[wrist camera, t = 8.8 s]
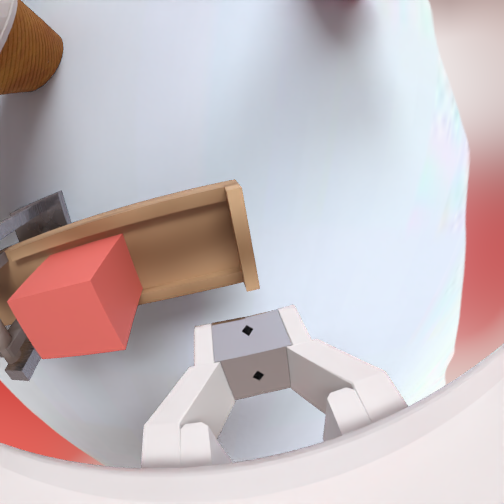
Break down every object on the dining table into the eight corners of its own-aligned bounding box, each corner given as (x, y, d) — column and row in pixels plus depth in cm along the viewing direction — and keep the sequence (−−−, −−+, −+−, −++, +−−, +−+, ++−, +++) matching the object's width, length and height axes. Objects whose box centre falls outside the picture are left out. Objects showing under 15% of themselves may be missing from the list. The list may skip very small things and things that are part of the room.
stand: (14, 211, 20) (-67, 265, 8) (61, 190, 20) (-29, 241, 9) (50, 300, 24) (-1, 380, 13) (98, 290, 25) (50, 383, 13)
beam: (-48, 263, 17) (-91, 303, 8) (228, 166, 20) (249, 188, 11) (-23, 315, 20) (-58, 362, 11) (245, 254, 23) (272, 324, 14)
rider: (50, 255, 15) (6, 301, 10) (122, 233, 16) (90, 280, 10) (72, 303, 17) (42, 359, 11) (142, 288, 17) (125, 349, 12)
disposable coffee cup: (88, 9, 13) (26, -45, 3) (68, 100, 17) (-23, 91, 6) (15, 32, 12) (-55, 10, 1) (-2, 115, 15) (-85, 125, 5)
